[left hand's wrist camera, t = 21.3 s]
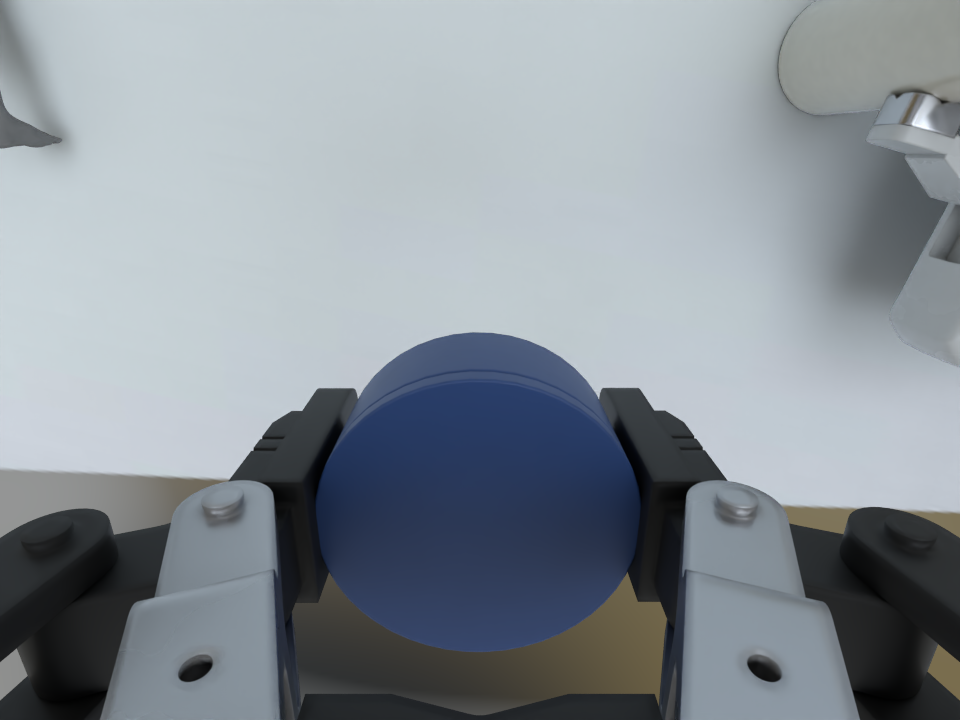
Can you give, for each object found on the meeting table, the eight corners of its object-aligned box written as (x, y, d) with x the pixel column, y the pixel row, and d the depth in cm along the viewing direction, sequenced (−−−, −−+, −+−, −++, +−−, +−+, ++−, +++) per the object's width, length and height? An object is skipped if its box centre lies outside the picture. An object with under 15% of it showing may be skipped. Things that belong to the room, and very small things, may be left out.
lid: (662, 470, 11) (706, 547, 9) (463, 602, 12) (460, 696, 10) (496, 272, 9) (500, 306, 7) (290, 442, 11) (244, 514, 8)
